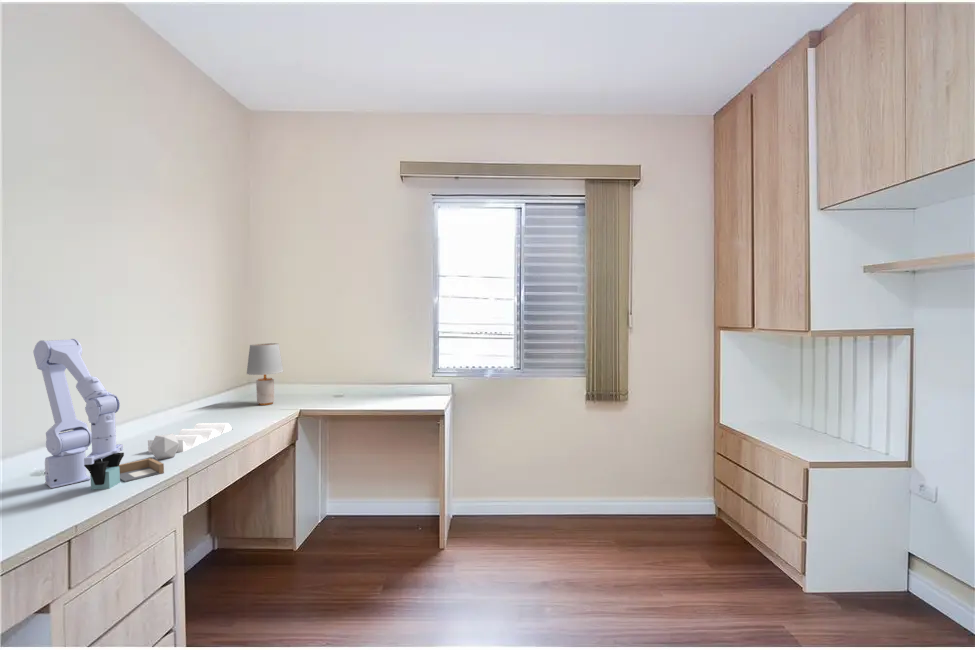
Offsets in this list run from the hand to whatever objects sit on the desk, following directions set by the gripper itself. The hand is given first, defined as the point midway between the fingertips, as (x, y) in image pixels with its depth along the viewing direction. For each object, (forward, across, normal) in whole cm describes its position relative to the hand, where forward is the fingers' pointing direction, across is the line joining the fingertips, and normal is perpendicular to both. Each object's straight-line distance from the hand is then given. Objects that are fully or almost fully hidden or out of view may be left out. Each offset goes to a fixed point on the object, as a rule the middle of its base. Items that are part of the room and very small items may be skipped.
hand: (105, 481), depth 146 cm
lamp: (+2, +131, -5) cm, 131 cm away
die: (+2, +29, -2) cm, 29 cm away
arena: (+1, +10, -4) cm, 11 cm away
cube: (+1, 0, 0) cm, 1 cm away
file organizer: (+2, +53, -1) cm, 53 cm away
